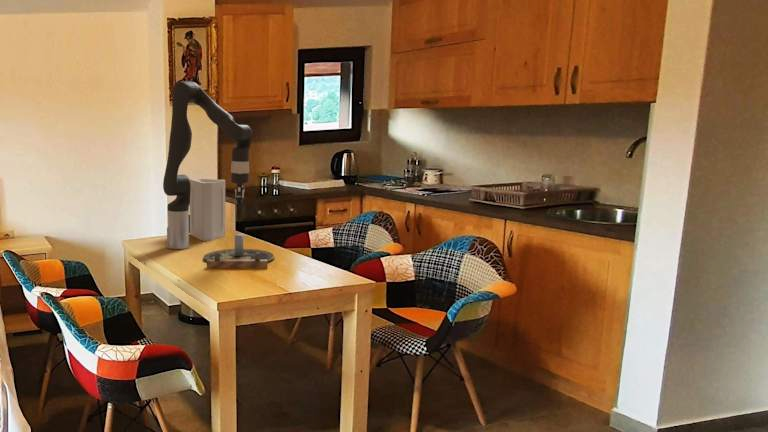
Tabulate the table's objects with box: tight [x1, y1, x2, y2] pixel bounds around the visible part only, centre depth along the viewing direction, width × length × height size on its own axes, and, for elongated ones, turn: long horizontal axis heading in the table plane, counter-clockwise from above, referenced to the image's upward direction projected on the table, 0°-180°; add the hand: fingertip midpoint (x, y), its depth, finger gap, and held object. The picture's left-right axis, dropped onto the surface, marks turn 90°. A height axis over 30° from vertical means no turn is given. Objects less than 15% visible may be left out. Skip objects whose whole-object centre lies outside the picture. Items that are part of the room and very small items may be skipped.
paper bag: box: [189, 178, 226, 242], centre depth 339 cm, size 19×15×28 cm
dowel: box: [234, 233, 244, 256], centre depth 294 cm, size 4×4×9 cm
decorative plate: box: [202, 248, 275, 264], centre depth 294 cm, size 30×2×30 cm
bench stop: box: [206, 253, 268, 269], centre depth 278 cm, size 24×3×6 cm, turn 100°
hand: (239, 208), depth 296 cm, fingers open, 8 cm apart
